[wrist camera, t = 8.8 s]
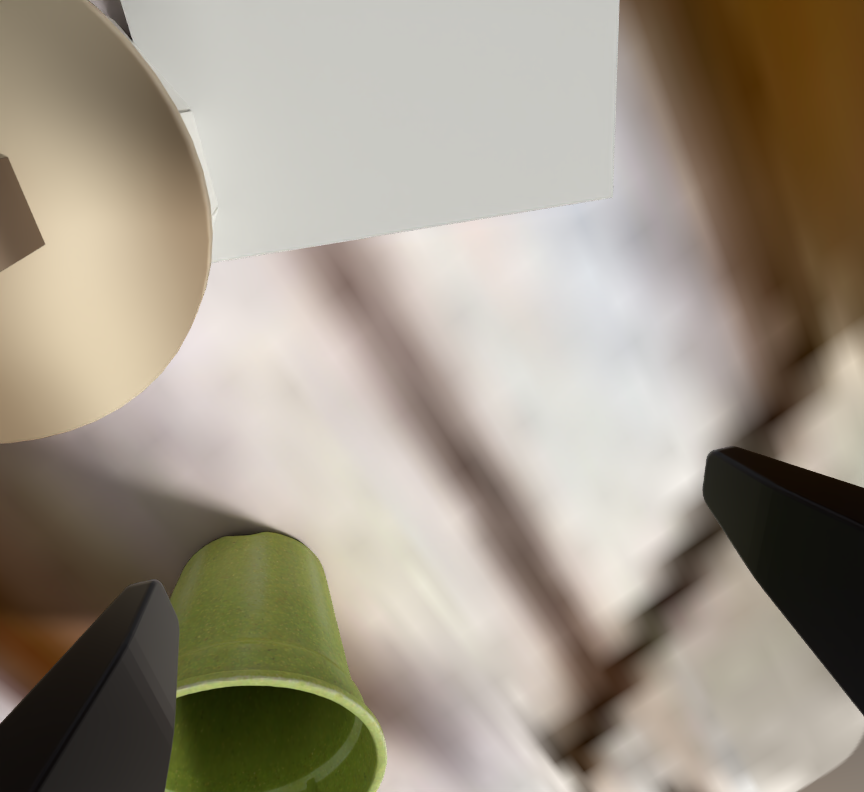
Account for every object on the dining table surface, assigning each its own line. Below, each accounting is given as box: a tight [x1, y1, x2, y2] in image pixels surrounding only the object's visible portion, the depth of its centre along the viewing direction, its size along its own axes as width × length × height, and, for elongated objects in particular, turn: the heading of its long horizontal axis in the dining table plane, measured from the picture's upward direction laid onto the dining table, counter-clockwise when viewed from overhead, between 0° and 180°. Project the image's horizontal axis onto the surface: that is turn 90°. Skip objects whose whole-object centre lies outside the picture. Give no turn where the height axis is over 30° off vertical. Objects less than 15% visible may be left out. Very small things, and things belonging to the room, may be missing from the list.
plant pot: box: [165, 532, 387, 792], centre depth 22 cm, size 9×9×9 cm
